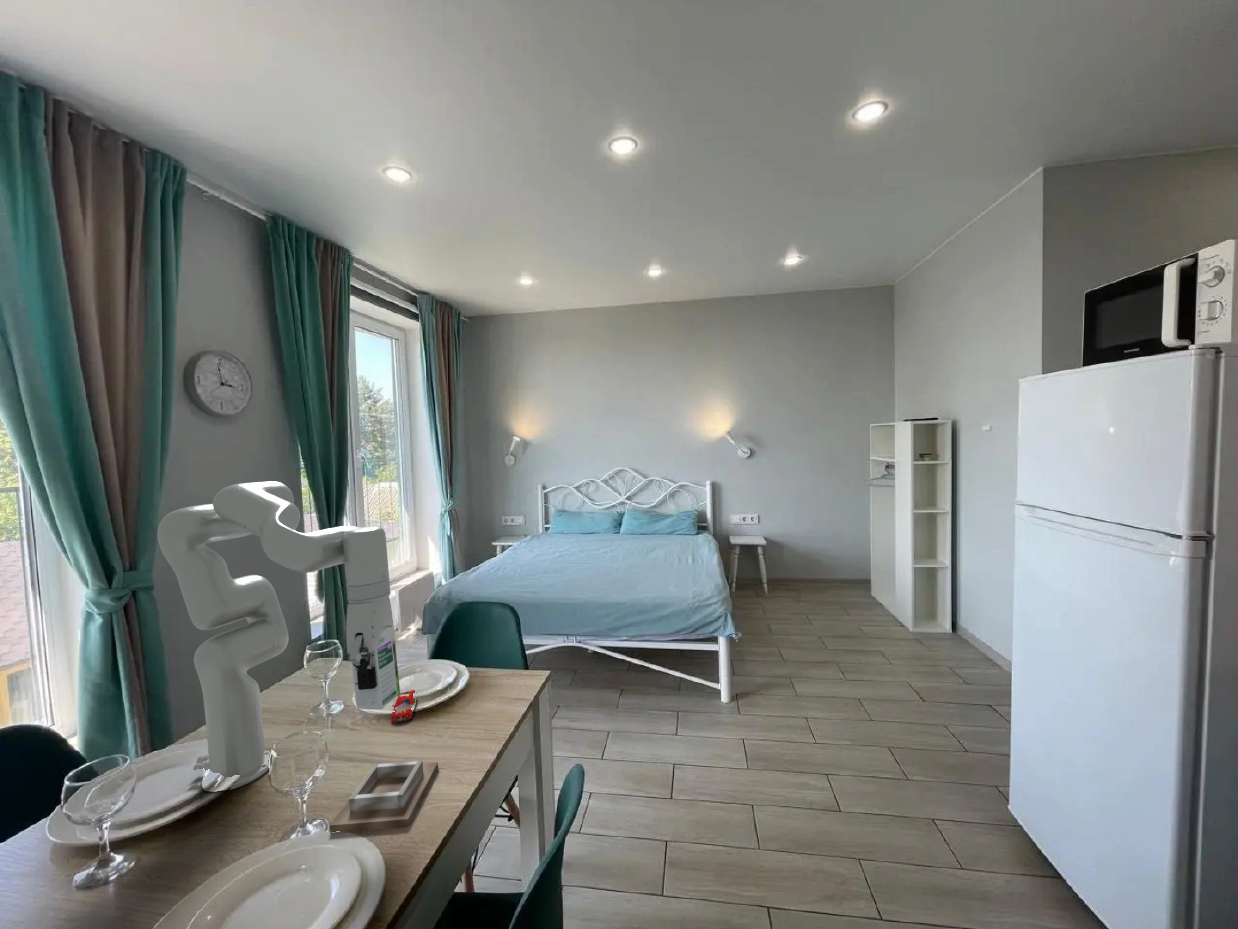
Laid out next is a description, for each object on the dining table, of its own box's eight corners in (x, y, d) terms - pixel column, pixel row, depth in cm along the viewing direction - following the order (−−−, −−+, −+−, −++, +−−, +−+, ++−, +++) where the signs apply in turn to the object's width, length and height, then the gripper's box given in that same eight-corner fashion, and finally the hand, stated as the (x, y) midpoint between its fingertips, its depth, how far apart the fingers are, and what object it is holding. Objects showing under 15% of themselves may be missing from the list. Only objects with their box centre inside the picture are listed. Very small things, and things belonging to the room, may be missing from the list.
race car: (412, 723, 123) (410, 708, 123) (389, 727, 122) (387, 712, 122) (420, 697, 136) (419, 684, 136) (399, 701, 135) (398, 687, 135)
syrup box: (381, 710, 92) (375, 635, 92) (354, 709, 93) (348, 635, 93) (400, 695, 98) (395, 624, 97) (375, 694, 99) (369, 624, 98)
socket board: (330, 833, 87) (328, 812, 87) (372, 774, 103) (371, 756, 103) (408, 827, 88) (406, 805, 88) (438, 769, 104) (437, 751, 104)
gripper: (370, 580, 103) (377, 662, 104) (324, 605, 86) (332, 704, 86) (406, 577, 104) (412, 659, 104) (366, 602, 86) (375, 700, 87)
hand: (376, 678), depth 95 cm, fingers closed on syrup box, 6 cm apart
